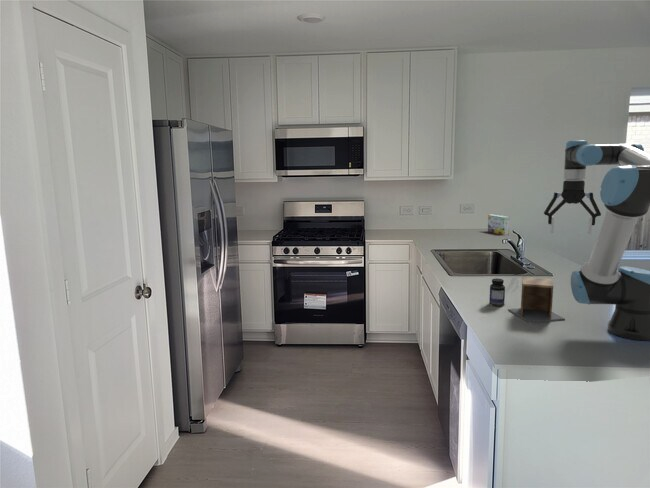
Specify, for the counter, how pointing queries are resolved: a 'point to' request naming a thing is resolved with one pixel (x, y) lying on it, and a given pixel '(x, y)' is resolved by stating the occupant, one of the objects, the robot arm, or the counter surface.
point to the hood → (537, 295)
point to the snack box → (498, 224)
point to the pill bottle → (497, 292)
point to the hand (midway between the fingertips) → (570, 232)
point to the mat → (535, 315)
